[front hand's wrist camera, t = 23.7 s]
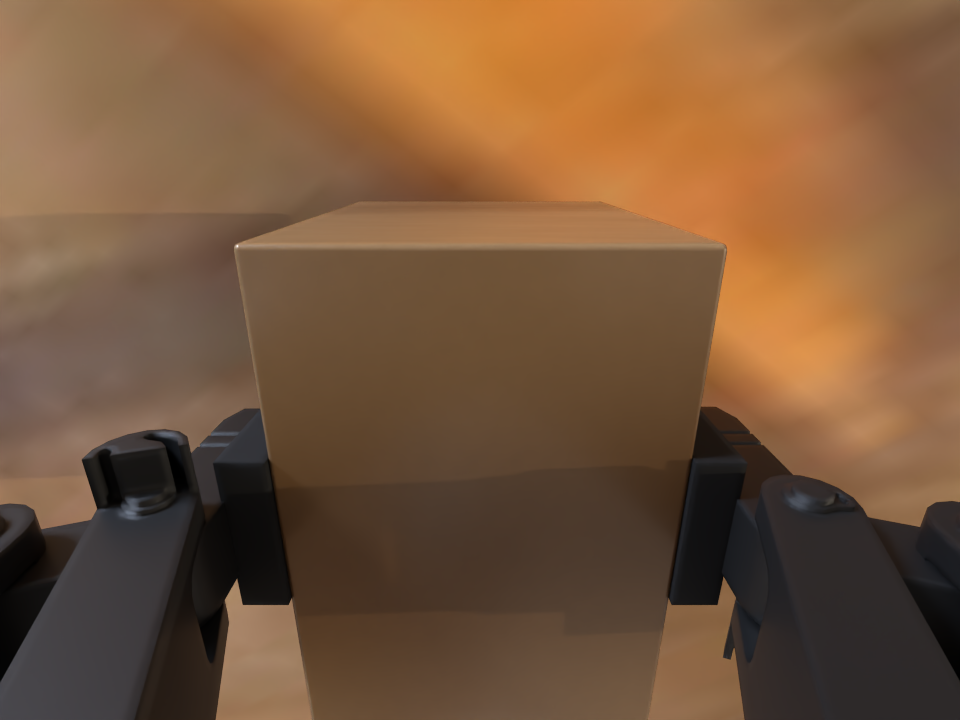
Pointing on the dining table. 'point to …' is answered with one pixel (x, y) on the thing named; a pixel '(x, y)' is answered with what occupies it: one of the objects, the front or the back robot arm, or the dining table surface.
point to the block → (480, 449)
